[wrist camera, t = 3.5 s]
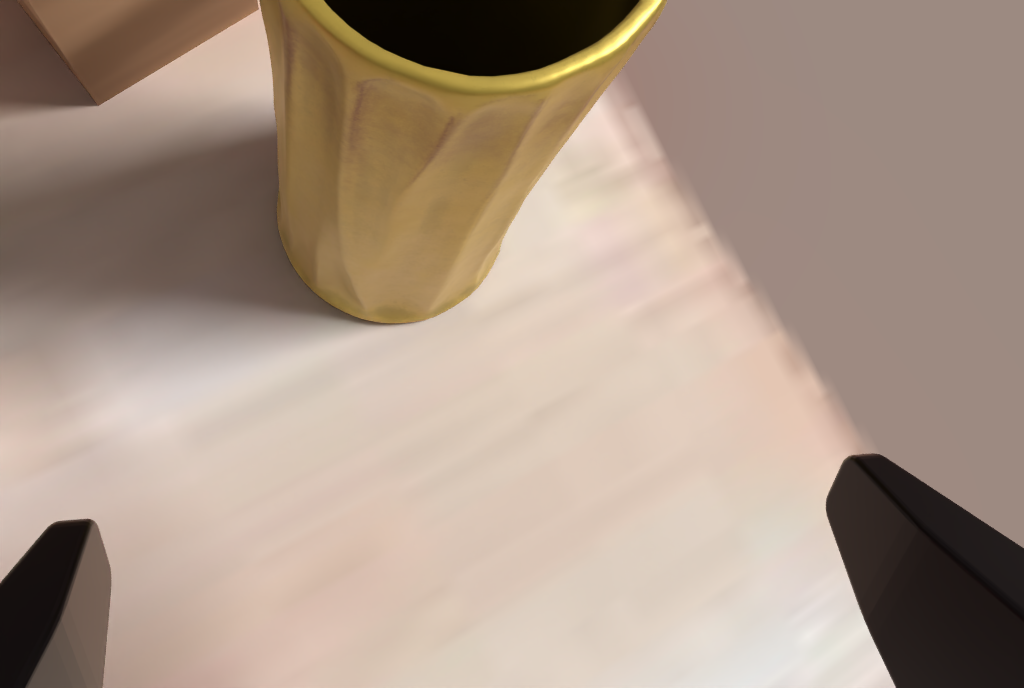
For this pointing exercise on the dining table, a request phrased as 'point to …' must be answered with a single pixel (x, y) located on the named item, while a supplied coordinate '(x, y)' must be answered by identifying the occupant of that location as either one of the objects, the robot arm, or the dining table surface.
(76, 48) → the walnut block
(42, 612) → the robot arm
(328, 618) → the dining table surface
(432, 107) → the vase
